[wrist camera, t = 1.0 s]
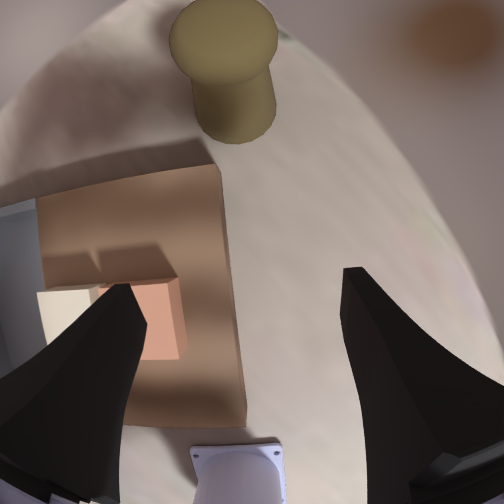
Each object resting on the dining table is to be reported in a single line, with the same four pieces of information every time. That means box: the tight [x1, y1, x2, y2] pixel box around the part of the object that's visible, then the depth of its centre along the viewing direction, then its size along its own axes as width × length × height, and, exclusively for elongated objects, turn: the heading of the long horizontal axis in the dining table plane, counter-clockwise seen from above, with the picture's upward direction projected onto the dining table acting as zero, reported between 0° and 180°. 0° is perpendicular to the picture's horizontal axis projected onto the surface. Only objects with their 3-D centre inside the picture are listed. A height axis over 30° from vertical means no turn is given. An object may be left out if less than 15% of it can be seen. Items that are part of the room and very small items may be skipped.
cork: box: [169, 0, 278, 144], centre depth 16 cm, size 6×6×11 cm
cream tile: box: [37, 283, 106, 345], centre depth 18 cm, size 4×4×2 cm
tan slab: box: [37, 164, 247, 428], centre depth 21 cm, size 18×14×3 cm
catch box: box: [0, 198, 47, 378], centre depth 21 cm, size 18×10×3 cm, turn 6°
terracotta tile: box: [98, 277, 188, 360], centre depth 18 cm, size 4×4×2 cm
